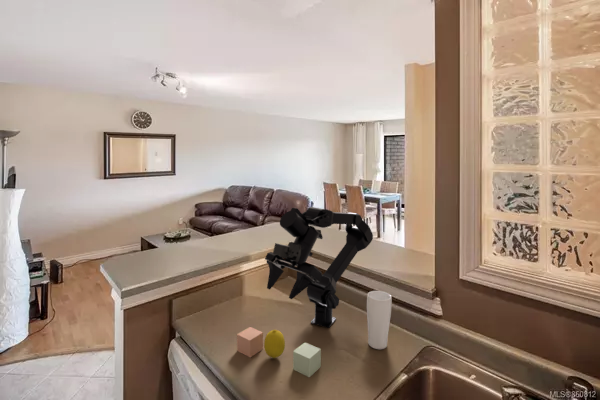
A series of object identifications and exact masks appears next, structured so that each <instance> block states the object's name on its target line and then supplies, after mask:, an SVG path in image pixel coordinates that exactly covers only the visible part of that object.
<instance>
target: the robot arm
mask: <svg viewBox="0 0 600 400" xmlns="http://www.w3.org/2000/svg"><path fill="white" fill-rule="evenodd" d="M332 225H345V228H344V229H345V231H346V232H345V233H346V236H345V244H344V246H343V247H342V248H341V250H340V251H339V252H338V254H337V255H336V257H335V258H334V260H332V262H331V263H330V265H329V266H328V267H327V269H326V270H325V272H324V273H322V272H323V271H321V270H320V269H319V268H318V267H316V266H315V265H314V264H310V263H307V260H308V257H312V256H313V252H312V251H313V247H314V245H315V243H316V241H317V239H320V240H323V238H324V237H323V234H322V231H321V229H317V228H323V229H325V228H329V227H331V226H332ZM353 225H354V226H353ZM279 226H280V227H281V228H282V229H284V231H286V232H287V233H288V234H289V235H291V236H292V237H294V238H295V239H294V240H293V241H290V242H289V243H288V245H286V244H281V243H274V246H273V251H270V252H268V253H267V254H266V256H265V257H264V259H265V261H266V264H268V265H267V266H268V269H269V273H268V279H267V284H266V289H268V290H271V289H272V288H273V287H274V285H275V284H276V283H277V281H278V280H279V278H280V277H281V275H282V274H283V273H284V272H285V271H284V270H283V269H286V268H288V269H290V270H294V271H296V280H295V282H294V284H293V286H292V288H291V290H290V293H289V296H288V299H290V300H293V299H294V298H295V297H296V296H297V295H299V294H300V293H301V292H302V291H304V290H305V289H306V295H307V297H308V300H309V302H310V303H313V304H314V317H313V319H312V320H310V324H312V325H317V326H320V327H324V328H327V329H328V328H330V327H331V326H332V325H333V324H334V323H335V321H336V320H337V318H336V317H334V316H333V310H335V309H337V307H338V306H339V303H340V298H339V296H337V294H336V292H337V283H338V281H339V280H340V278H341V277H342V276H343V275H344V273H345V271H346V269H348V267H349V265H350V264H351V262H352V260H353V259H354V258H355V257H356V255H357V253H359V252H360V251H362V250H365V249H366V248H367V247H369V245H370V244H371V243H372V241H373V238H374V235H373V232H372V229H371V227H370V225H368V223H367V222H365V221H364V219H363V218H362V215H361V214H359V213H356V212H351V211H349V212H339V211H338V212H337V211H336V212H335V211H332V210H329V209H327V208H322V207H315V206H310V207H307V209H306V210H305V211H303V212H301V211H300V210H299V208H297V207H291V209H290V210H288V211H287V212H285V213H284V214H283V215H282V216H281V217H280V220H279ZM316 227H317V228H316Z"/></svg>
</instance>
